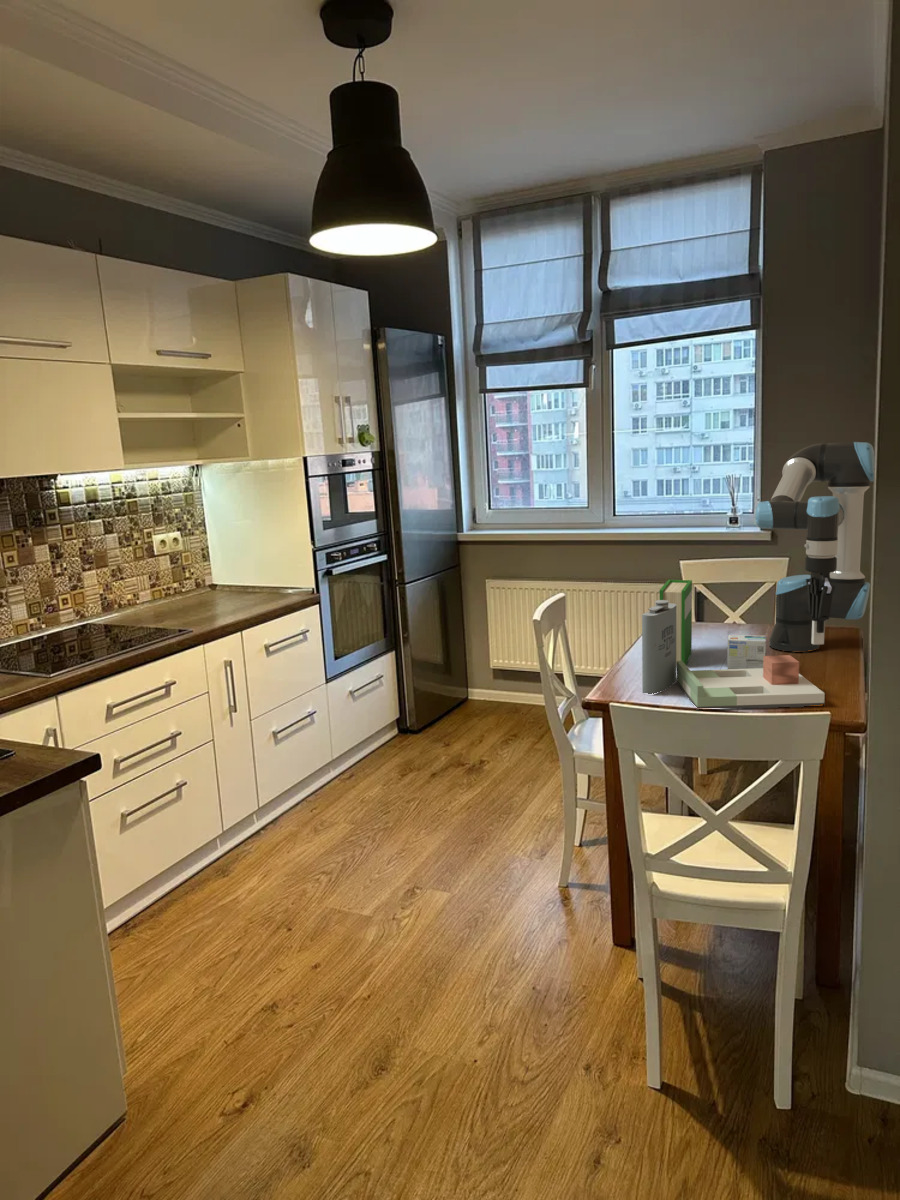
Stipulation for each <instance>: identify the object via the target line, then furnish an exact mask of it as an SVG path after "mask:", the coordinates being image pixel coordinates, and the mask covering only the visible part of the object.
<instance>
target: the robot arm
mask: <svg viewBox="0 0 900 1200" xmlns="http://www.w3.org/2000/svg"><path fill="white" fill-rule="evenodd" d="M875 463H876V456H875V450H874V447H873V445H872V444H871V443H869V442H861V441H860V442H859V441H853V442H834V443H833V442H832V443H831V442H829V443H828V442H827V443H815V444H811V445H808V446H806V447H803V448H801V449H799V450H798V451H797V452H794V453H793V454H792V455H791V456H790V457H789V458H788V459H787V460H786V462H785V463H784V465H783V468H782V470H781V473H782V474H781V475H782V477H781V479H780V480H779V483H778V484H777V486H776V489H775V490H774V492H773V494H772V496H771V499H770V501H769V500H766V501H760V502H758V504H757V505H756V507H755V523H756V526H757V527H758V528H759V529H769V530H773V529H774V530H776V529H777V530H779V529H780V530H781V529H782V530H783V529H785V530H787V529H788V530H790V529H791V530H806V536H805V537H806V538H805V539H806V540H805V542H806V543H805V544H804V548H805V554H806V557H805V561H804V570H805V571H807V572H808V573H810V574H797V575H791V576H786V577H785V576H784V577H783V578H780V579H779V580H778V581H777V583H776V591H775V623H774V625H773V628H772V632H771V634H770V636H769V641H768V646H769V645H770V646H771V647H772V648H775V649H778V650H777V651H779V650H784V651H808V650H814V649H817V648H819V647H821V645H825V630H826V624H825V623H826V621H828V620H829V619H841V620H860V619H862V618H863V616H864V615H865V612H866V609H867V604H868V602H869V601H868V599H869V596H870V589H871V588H870V587H871V584H870V582H868V581H866V576H865V575H864V573H862V571H861V556H862V555H861V554H862V537H863V520H864V519H863V514H864V496H865V493H866V491H867V490H868V489H870V488H871V483H872V482H875V481H874V468H875ZM814 482H815V483H817V482H821V483H822V482H823V483H824V482H825V483H827V488H828V490H829V491H830V492H831V493H832V495H826V496H825V495H823V496H822V495H819V496H811V497H809V498H808V500H807V501H802V498H803V496H804V494H805V491H806V489H807V487H808V486H809V485H810V484H812V483H814ZM771 647H770V648H771ZM772 648H771V649H772ZM775 649H774V650H775ZM819 649H820V648H819ZM784 651H783V652H784Z"/></svg>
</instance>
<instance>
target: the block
mask: <svg viewBox="0 0 900 1200" xmlns="http://www.w3.org/2000/svg"><path fill="white" fill-rule="evenodd" d="M799 674H800V661H798V660H797V659H795V658H794V657H793V656H792V655H791V654H790V655H789V654H788V655H787V654H786V655H785V654H784V655H766V656H764V658H763V678H765V679H766V680H767V681H768V682H769V683H770V684H771V685H780V684H798V683H799Z"/></svg>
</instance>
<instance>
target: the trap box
mask: <svg viewBox="0 0 900 1200" xmlns="http://www.w3.org/2000/svg"><path fill="white" fill-rule="evenodd" d="M676 684H677V685H678V686H679V688H680V690H681V691H682V692H683V694H685V696H686V698H687V699H688V698H689V699H688V700H689V702H690V703H691V702H692V703H693V704H694V705H695V706H696V707H697V708H758V709H779V708H778V707H790V708H805V707H804V706H810V705H820V704H824V705H825V695H826V693H825V692H824V691H823V690H821V688H820V689H819V687H817V686H816V685H814V684H813V683H812V682H811V681H809V680H808V679H807V678H805V677H804V676H803V675H802V674H801V673H799V683H798V684H780V685H771V684H770V683H769V682H768V681H767V680H766V679H765V678H763V668H753V669H728V668H727V669H726V668H725V669H724V668H723V669H701V670H700V669H699V670H698V669H697V670H691V669H690V668H689V667H688V666H687V664H686V665H685V664H684V662H683V661H677V665H676ZM692 703H691V704H692ZM693 704H692V705H693ZM694 705H693V706H694ZM696 711H700V710H699V709H696Z"/></svg>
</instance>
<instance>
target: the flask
mask: <svg viewBox="0 0 900 1200" xmlns="http://www.w3.org/2000/svg"><path fill="white" fill-rule="evenodd" d="M654 604H655V605H654V606H651V607H649V608H648V611H646V612H645V613H642V614H641V625H642V626H641V628H642V631H641V634H642V635H641V636H642V637H641V639H642V641H641V642H642V643H641V645H642V646H641V649H642V650H641V651H642V652H641V655H642V658H641V661H642V663H641V669H642V676H641V677H642V694H643V693H648V694H652V693H653V694H654V693H657V692H660V691H663V690H665V689H666V690H667V688H668V689H669V688H670V686H671V687H672V686H673V685H674V684H675V683H677V665H676V604H672V603H669V601H667V600H660V599H657V600H655V601H654ZM666 690H665V691H666ZM663 692H664V691H663ZM660 693H661V692H660Z"/></svg>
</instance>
